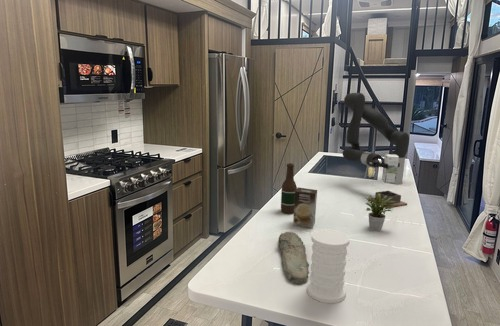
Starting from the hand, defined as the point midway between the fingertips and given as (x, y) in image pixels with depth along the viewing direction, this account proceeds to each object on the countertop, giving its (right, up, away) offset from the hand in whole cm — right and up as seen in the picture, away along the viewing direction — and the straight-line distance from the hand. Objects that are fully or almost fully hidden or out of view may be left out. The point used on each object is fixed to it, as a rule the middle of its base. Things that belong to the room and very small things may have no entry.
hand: (393, 165), depth 185 cm
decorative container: (-52, -38, -77) cm, 100 cm away
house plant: (-20, -28, -30) cm, 45 cm away
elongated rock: (-59, -33, -57) cm, 89 cm away
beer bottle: (-56, -22, -10) cm, 61 cm away
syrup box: (-1, -9, +4) cm, 9 cm away
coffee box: (-51, -26, -26) cm, 63 cm away
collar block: (-1, -20, +6) cm, 21 cm away
